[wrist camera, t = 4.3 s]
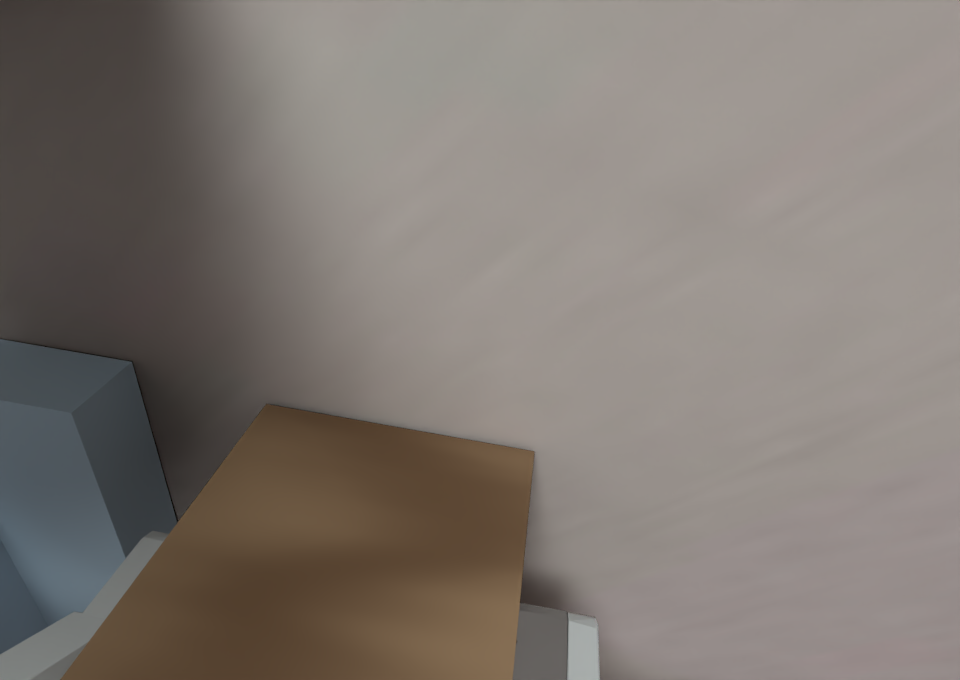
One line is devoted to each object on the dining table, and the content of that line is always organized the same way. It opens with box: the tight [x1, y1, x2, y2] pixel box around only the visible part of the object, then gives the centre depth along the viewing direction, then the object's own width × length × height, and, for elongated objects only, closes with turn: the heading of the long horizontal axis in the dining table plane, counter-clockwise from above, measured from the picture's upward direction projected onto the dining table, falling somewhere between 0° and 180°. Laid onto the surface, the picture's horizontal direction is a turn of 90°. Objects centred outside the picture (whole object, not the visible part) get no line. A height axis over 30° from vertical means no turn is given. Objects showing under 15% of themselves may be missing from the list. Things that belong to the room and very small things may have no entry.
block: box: [60, 404, 534, 680], centre depth 10 cm, size 5×5×5 cm
